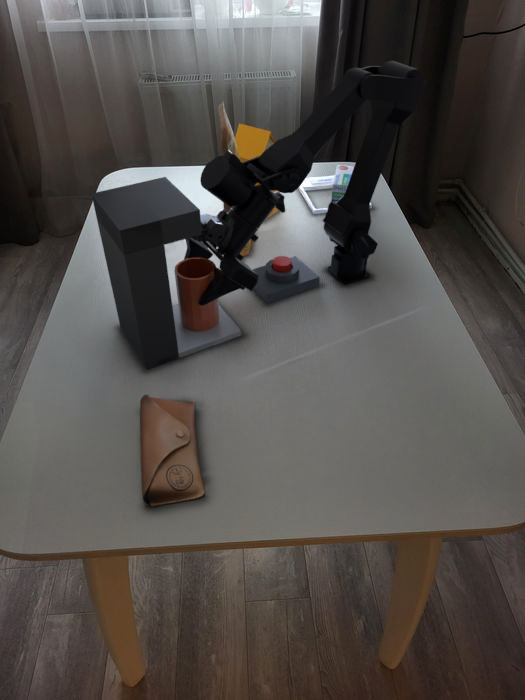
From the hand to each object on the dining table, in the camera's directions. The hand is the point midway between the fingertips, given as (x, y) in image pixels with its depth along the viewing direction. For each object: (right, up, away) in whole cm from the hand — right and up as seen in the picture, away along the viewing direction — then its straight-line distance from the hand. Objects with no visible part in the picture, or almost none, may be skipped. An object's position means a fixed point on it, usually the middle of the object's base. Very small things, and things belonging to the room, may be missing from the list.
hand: (189, 291), depth 96 cm
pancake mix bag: (+7, +14, +28) cm, 32 cm away
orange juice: (+11, +23, +39) cm, 47 cm away
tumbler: (+1, -4, +5) cm, 7 cm away
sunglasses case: (0, -25, -16) cm, 29 cm away
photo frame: (+30, +29, +45) cm, 62 cm away
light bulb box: (+32, +21, +36) cm, 53 cm away
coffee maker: (-2, -7, +4) cm, 8 cm away
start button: (+16, +6, +13) cm, 22 cm away
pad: (+16, +3, +16) cm, 23 cm away
